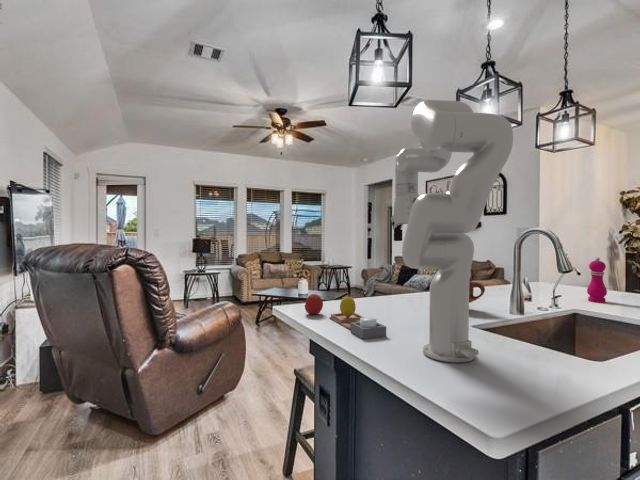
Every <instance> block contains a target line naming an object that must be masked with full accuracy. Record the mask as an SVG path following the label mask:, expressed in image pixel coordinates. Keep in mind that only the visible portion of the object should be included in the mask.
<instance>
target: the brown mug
mask: <svg viewBox="0 0 640 480" xmlns="http://www.w3.org/2000/svg"><path fill="white" fill-rule="evenodd" d="M476 287H477V288H479V290H480V294H479V295H477V296H475V295H474V289H475V288H476ZM485 291H486V288H485V285H483V283H481V282H480V281H475V280H473V279H472V277H471V276H470V280H469V304H470V303H473V302H475V301H477V300H478V299H480V297H482V296H483V295H484V294H485Z"/></svg>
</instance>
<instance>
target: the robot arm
mask: <svg viewBox="0 0 640 480" xmlns="http://www.w3.org/2000/svg"><path fill="white" fill-rule="evenodd" d="M410 121H411V123H410V124H411V125H410V126H411V129H412V132H413V134H414V135H415V136H416V138H417V139H418V140H419V144H420V146H421V147H405V148H403V149H401V150H400V151H399V153H398V154H397V155H396V156H395V160H394V161H395V162H394V164H395V165H394V166H395V167H394V169H395V170H394V171H395V173H394V175H395V176H394V177H395V178H394V179H395V181H394V182H395V184H394V185H395V186H394V188H395V189H394V196H395V197H394V204H393V215H392V216H391V217H390V221H391V226H392V230H393V241H394V242H402V250H401V256H402V260H403V263H404V264H405V266H407V267H408V268H410V269H416V270H437V271H436V272H435V274H434V276H433V277H432V279H431V282H430V284H429V308H428V309H429V313H428V314H429V316H428V317H429V319H428V320H429V321H428V322H429V325H428V327H429V328H428V330H429V333H428V334H429V335H428V339H429V340H428V342H429V343H427V344H425V345H424V346H422V347H423V348H422V353H423V354H424V355H425V357H428V358H431V359H432V360H436V361H440V362H447V363H468V362H471V361H473V360H475V359H476V356H478V355H479V351H480V350H478V349H476V348H473V347H472V340H470V339H469V336H470V335H469V330H470V328H469V325H470V321H469V320H470V317H469V316H470V314H469V313H470V311H469V310H470V309H469V308H470V305H469V304H470V303H469V280H470V277H471V271H472V270H471V269H472V264H473V260H474V255H475V254H474V253H475V246H474V242H473V240H472V237H470V236H469V235H468V234H467V233H470V232H473V231H475V229H476V228H477V227H478V225H479V222H480V220H481V219H482V216H483V214H484V210H485V207H486V205H487V202H488V200H489V197H490V194H491V192H492V188H493V186H494V184H495V182H496V180H497V179H498V177H499V175H500V173H501V171H502V170H503V169H504V166H505V165H506V164H507V162H508V159H509V157H510V156H511V155H510V154H511V152H512V149H513V146H514V145H513V144H514V131H513V126H512V124H511V122H510V121H509V120H508V119H507V118H506V117H504V116H501V115H498V114H495V113H487V112H474V110H473V109H472V108H471V106H470V105H468V103H465V102H463V101H458V100H446V99H445V100H443V99H440V100H439V99H426V100H423V101H421V102H419V103H418V105H417V106H416V107H415V108H414V110H413V112H412V115H411V119H410ZM453 153H473V154H472V156H471V157H470V158H468V159H467V160H466V161H464V162H463V163H462V165H461V166H460V167H459V168H457V170H456V171H455V172H454V175H453V178H452V181H451V184H450V187H449V190H448V191H446V192H427V193H423V194H421V195H420V194H419V173H430V174H431V173H437V172H439V171H441V170H442V169H443V168H445V167H446V166H447V165H448V164H449V163H450V161H451V158H452V154H453ZM404 225H406V226H407V227H406V230H405V233H404V238H403V229H402V228H403V226H404Z"/></svg>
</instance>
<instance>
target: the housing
mask: <svg viewBox="0 0 640 480" xmlns="http://www.w3.org/2000/svg"><path fill="white" fill-rule="evenodd" d="M350 333H351V334H353V335H355V336H356V337H358V338H359V339H361V340H368V339H369V340H370V339H375V338H376V339H377V338H384V337H387V326H386V325H384V324H381V323H379V322H377V321H376V327H368V328H363V327H361V326H360V322H354V323H351V330H350Z"/></svg>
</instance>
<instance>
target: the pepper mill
mask: <svg viewBox="0 0 640 480" xmlns="http://www.w3.org/2000/svg"><path fill="white" fill-rule="evenodd" d="M588 268H589V270H590V275H591V276H590V277H591V278H590V283H589V284H588V287H587V289H586V293H587V294H588V297H587V301H588V302H590V303H596V304H597V303H598V304H599V303H600V304H604V303H605V304H606V301H607V300H606V298H605V296H606V297H607V294H608V291H607V288H606V285H605V283H604V278H603V277H604V275H605V272H604V271H605V270H606V268H607V266H606V264H605V262H603V261H601V258H600V257H599V256H597V257H595V258H594V260H592V261H591V262H589V264H588Z"/></svg>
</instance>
